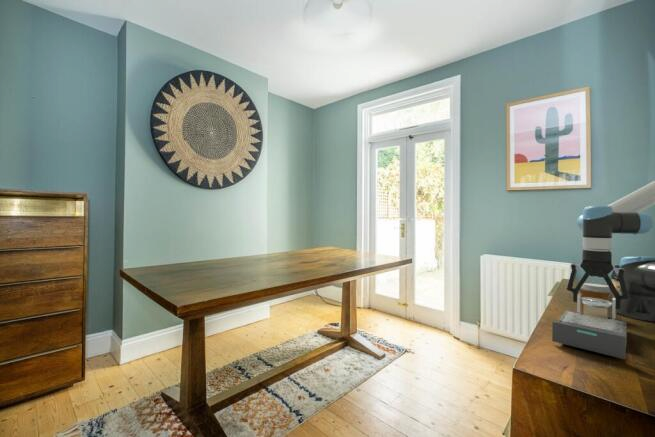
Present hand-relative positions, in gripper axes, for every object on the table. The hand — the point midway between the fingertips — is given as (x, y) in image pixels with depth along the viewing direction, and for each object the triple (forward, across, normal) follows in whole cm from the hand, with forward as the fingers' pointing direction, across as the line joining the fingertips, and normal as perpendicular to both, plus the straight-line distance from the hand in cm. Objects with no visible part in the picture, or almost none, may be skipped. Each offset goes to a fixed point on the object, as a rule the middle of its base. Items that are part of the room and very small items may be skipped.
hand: (595, 314), depth 102 cm
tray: (+3, 0, +26) cm, 26 cm away
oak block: (+4, 0, 0) cm, 4 cm away
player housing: (+4, 0, +14) cm, 14 cm away
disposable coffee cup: (+4, +1, -14) cm, 15 cm away
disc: (-3, 0, 0) cm, 3 cm away
